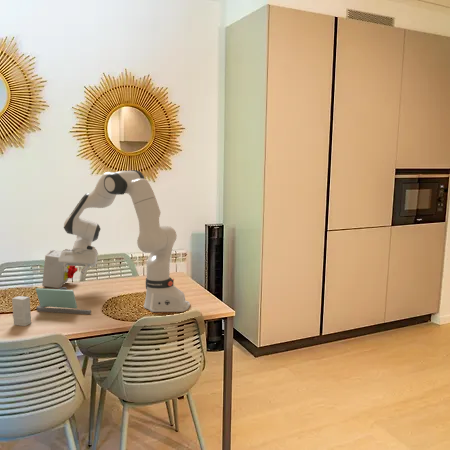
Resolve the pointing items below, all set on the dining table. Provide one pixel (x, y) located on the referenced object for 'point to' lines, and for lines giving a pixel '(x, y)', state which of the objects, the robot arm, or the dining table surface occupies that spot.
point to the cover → (56, 298)
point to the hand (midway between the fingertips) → (74, 272)
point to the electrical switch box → (56, 270)
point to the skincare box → (21, 310)
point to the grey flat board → (63, 310)
